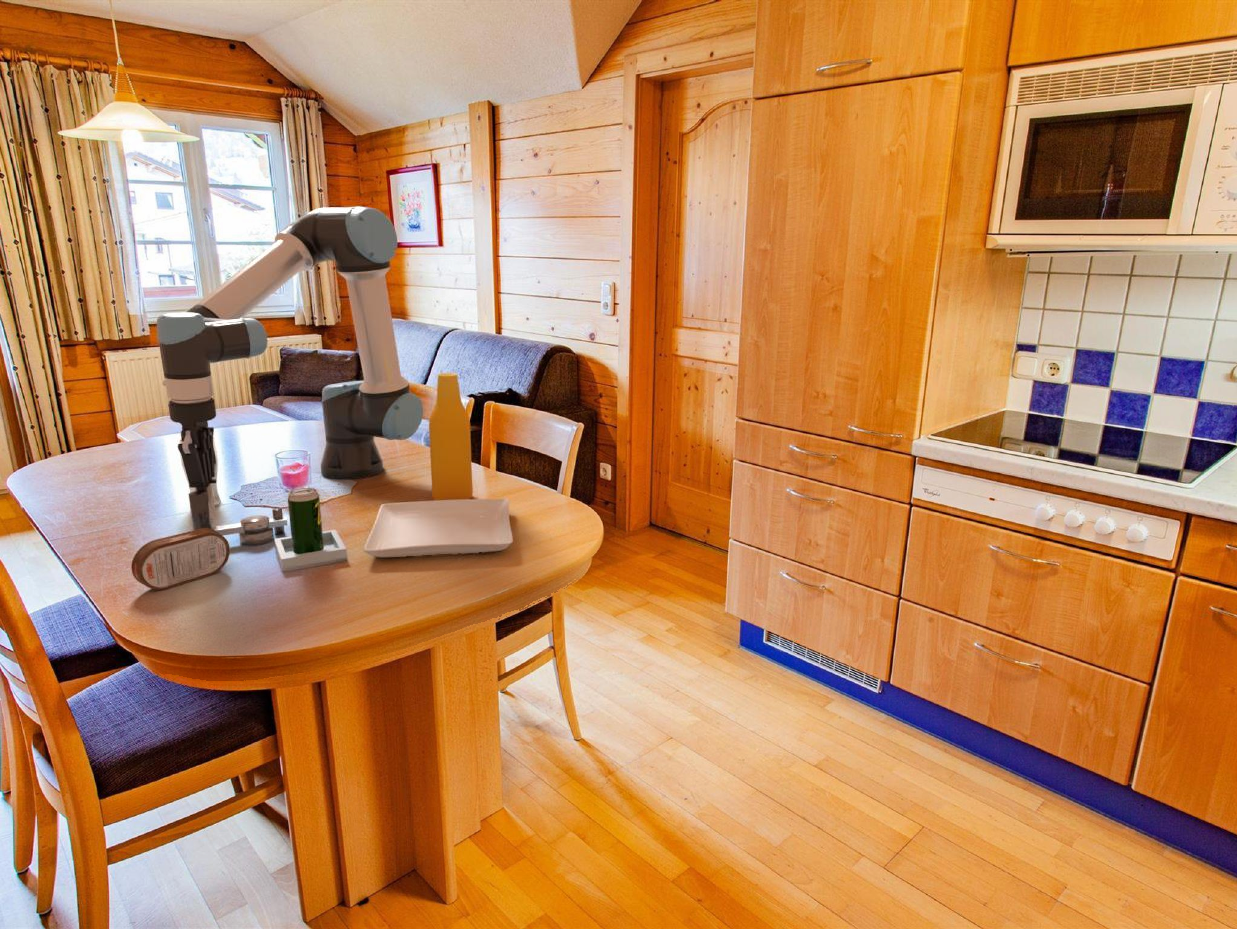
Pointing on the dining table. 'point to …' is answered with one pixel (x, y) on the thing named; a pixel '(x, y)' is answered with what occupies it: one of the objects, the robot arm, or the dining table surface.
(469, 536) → the square plate
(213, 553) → the tin
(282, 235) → the robot arm
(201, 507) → the crank
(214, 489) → the beer glass
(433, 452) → the beer bottle
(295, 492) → the beer can
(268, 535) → the base
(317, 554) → the tray
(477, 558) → the dining table surface
